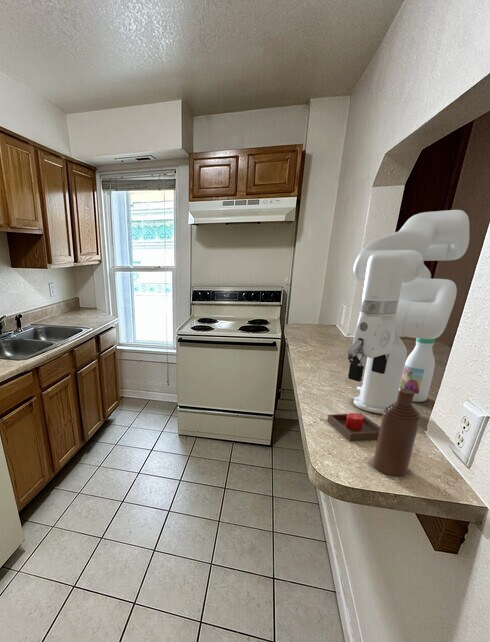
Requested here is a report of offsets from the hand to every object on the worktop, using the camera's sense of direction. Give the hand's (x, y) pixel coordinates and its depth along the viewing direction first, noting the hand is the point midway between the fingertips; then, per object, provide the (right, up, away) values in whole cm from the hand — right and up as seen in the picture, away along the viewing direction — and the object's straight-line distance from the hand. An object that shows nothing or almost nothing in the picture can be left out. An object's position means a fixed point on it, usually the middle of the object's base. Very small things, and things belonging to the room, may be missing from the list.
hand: (366, 376), depth 89 cm
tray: (0, -14, +5) cm, 15 cm away
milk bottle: (+29, -7, +24) cm, 38 cm away
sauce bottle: (-2, -20, -12) cm, 24 cm away
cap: (-1, -14, +5) cm, 15 cm away
